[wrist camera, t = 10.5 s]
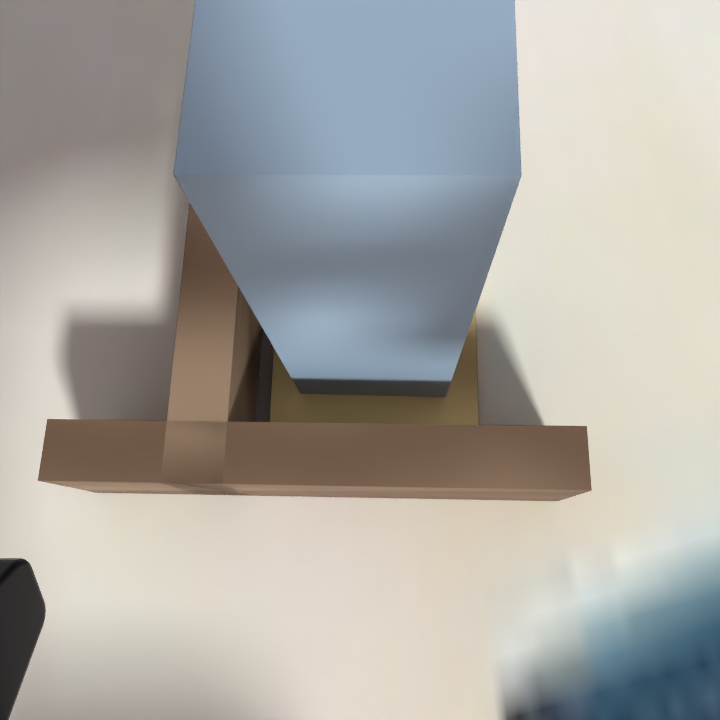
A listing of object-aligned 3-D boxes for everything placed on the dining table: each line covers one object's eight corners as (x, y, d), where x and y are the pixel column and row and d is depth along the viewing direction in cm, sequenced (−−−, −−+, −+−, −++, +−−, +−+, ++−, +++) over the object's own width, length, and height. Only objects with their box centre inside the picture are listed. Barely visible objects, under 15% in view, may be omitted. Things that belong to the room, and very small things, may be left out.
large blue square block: (445, 397, 20) (521, 175, 8) (300, 394, 21) (172, 174, 9) (445, 262, 22) (511, -97, 10) (308, 261, 22) (207, -91, 10)
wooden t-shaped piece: (557, 501, 20) (590, 490, 16) (96, 492, 20) (38, 480, 17) (536, 148, 23) (561, 79, 20) (140, 151, 24) (99, 86, 20)
